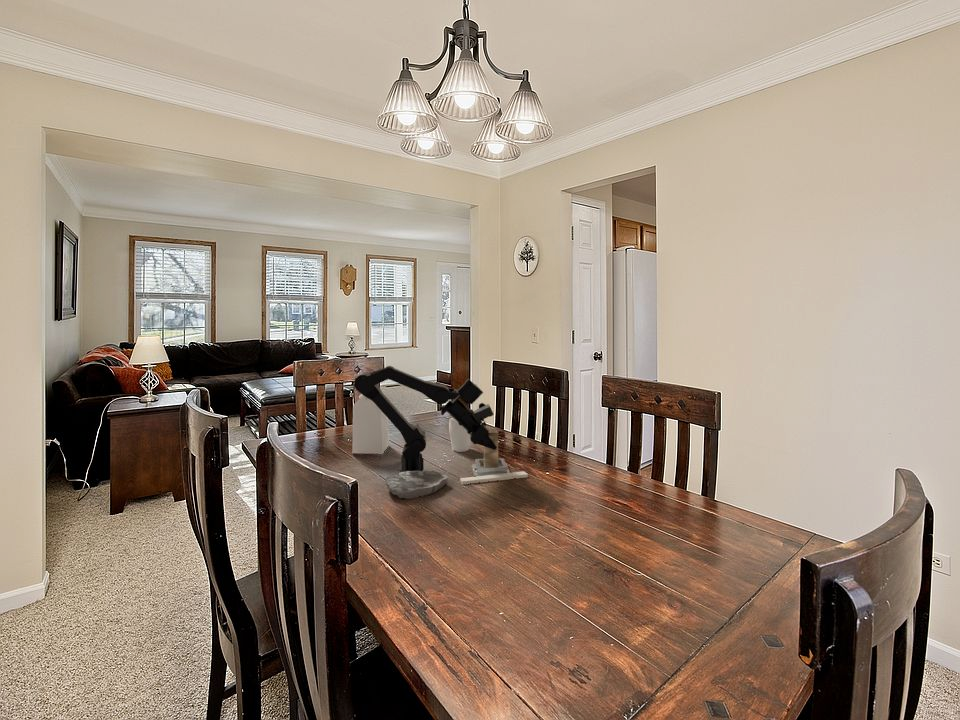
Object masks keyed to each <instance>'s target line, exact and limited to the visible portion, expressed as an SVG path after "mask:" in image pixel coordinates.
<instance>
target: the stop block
mask: <svg viewBox="0 0 960 720" xmlns="http://www.w3.org/2000/svg"><path fill="white" fill-rule="evenodd" d="M488 430H489V437H490V438H491V440H492V441H493V443H494V444H495V445H496V447H497V449H496V450H493V449H491V448H488V447H485V446H483V459H484V467H498V458H499V431H498V429H496V428H495V429H493V428H492V429H488Z"/></svg>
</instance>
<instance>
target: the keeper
mask: <svg viewBox="0 0 960 720" xmlns="http://www.w3.org/2000/svg"><path fill="white" fill-rule="evenodd" d="M471 467H472V473H473V477H474V476H485V475H494V474H504V473H511V472H510V469H509V467H508V464H507V463H506V461H505V459H504V458H501V457H500V458H499V457H498V467H484V458H475V461H474V464H473V463H472V464H471Z"/></svg>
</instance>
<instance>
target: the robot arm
mask: <svg viewBox="0 0 960 720" xmlns="http://www.w3.org/2000/svg"><path fill="white" fill-rule="evenodd" d="M387 380H390V381H393V382H395V383H396V384H400V385H402V386H404V387H407V388H409V389H412V390H414V391H416V392H418V393H421V394H422V395H424V396H425V397H426V398H428V399H429V400H431V401H433V402H434V403H436V404H438V405H440V415H441V416H444V415H445V414H446V413H448V414H449V415H450V416H451V418H454V419H455V420H456V421H457V422H458V424H459V425H460V426H462V427H463V428H464V429H466V430H467V433H468V434H470V433H471V434H470V443H473V445H479V446H482V447H484V446H485V447H488V448H491V449H493V450H496V449H497V447H496V445H495V444H494V443H493V441H492V440H491V438H490V437H489V430H490V429H489V428H488V427H487V424H486V421H485V419H488V418H489V417H490V418H491V417H493V416H494V414H495V413H494V411H493V410H492V407H491V406H490V403H484V402H481V403H478V408H477V409H476V410H473V409H472V408H468V406H467V405H470V404H471V405H473V404H474V403H475V402H476V401H477V400H478V399H479V398H480V397H481V396H482V395H483V394H484V391H483V390H482V389H481V388H480V387H479V386H478V385H477V384H476V383H474V382H473V381H472V380H471V379H470V378H467V379H466V380H465V381H464V383H463V384H462V385H461V386H460V387H459V388H451V387H448V386H447V385H445V384H442V383H438V382H434V381H433V382H431V381H426V380H424V379H421V378H419V377H416V376H414V375H413V374H412V375H411V374H409V373H407V372H404V371H403V370H399V369H398V368H396V367H394V366H392V365H387V366H384V367H383V368H381V369H377V370H375V371H372V372H361V373H360V374H359V375H357V376H356V377H355V379H354V381H353V386H354V389H355V390H356V391H357V392H358V393H360V395H361V394H362V395H364V396H365V397H367V398H368V399H370V400H372V401H373V402H374V403H375V404H376V405H377V407H378V408H379V409H380V410H381V411H382V412H383V413H384V414H385V416H386V417H387V420H389V421H390V423H392V425H393V426H394V427H395V428H396V429H397V430H398V431H399V432H400V434H401V436H402V438H403V440H404V443H405V444H404V445H403V448H402V453H401V455H400V456H401V458H400V460H401V462H400V463H401V469H399V471H400V472H406V471H425V468H424V467H425V466H424V457H423V454H422V452H424V450H425V449H426V447H427V436H426V431H425V430H423V429H422V428H421V426H420V424H419V423H416V425H413V424H411V422H409V421H408V419H406V418H405V416H404V415H403V414H402V413H401V412H400V411H399V410H398V409H397V407H396V406H395V405H394V404H393V403H392V402H391V401H390V400H389V398H388V397H387V396H386V395H385V393H383V391H382V389H381V388H380V386H379V384H381V383H383V382H385V381H387ZM443 404H445V405H443ZM400 472H399V473H400Z"/></svg>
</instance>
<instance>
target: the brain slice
mask: <svg viewBox="0 0 960 720" xmlns="http://www.w3.org/2000/svg"><path fill="white" fill-rule="evenodd" d="M448 478H449V477H448V475H447V474H444V473H441V472H438V471H434V470H431V471H429V470H423V471H406V472H398V473H397V474H394V475H389V476H386V479H384V482H385V483H386V487H387V489H388V491H390V492H391V494H392V495H393V494H394V495H393V496H395V495H397V496H396V497H399V499H401V498H405V499H404V500H411V499H410V498H412V499H415V498H414V497H416V498H420V497H419V496H421V497H425V496H424V495H426V496H427V495H430V494H435V493H436V492H437V491H438V489H439V490H440V489H442V488H443V487H444V486H445V484H447V481H448Z"/></svg>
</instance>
